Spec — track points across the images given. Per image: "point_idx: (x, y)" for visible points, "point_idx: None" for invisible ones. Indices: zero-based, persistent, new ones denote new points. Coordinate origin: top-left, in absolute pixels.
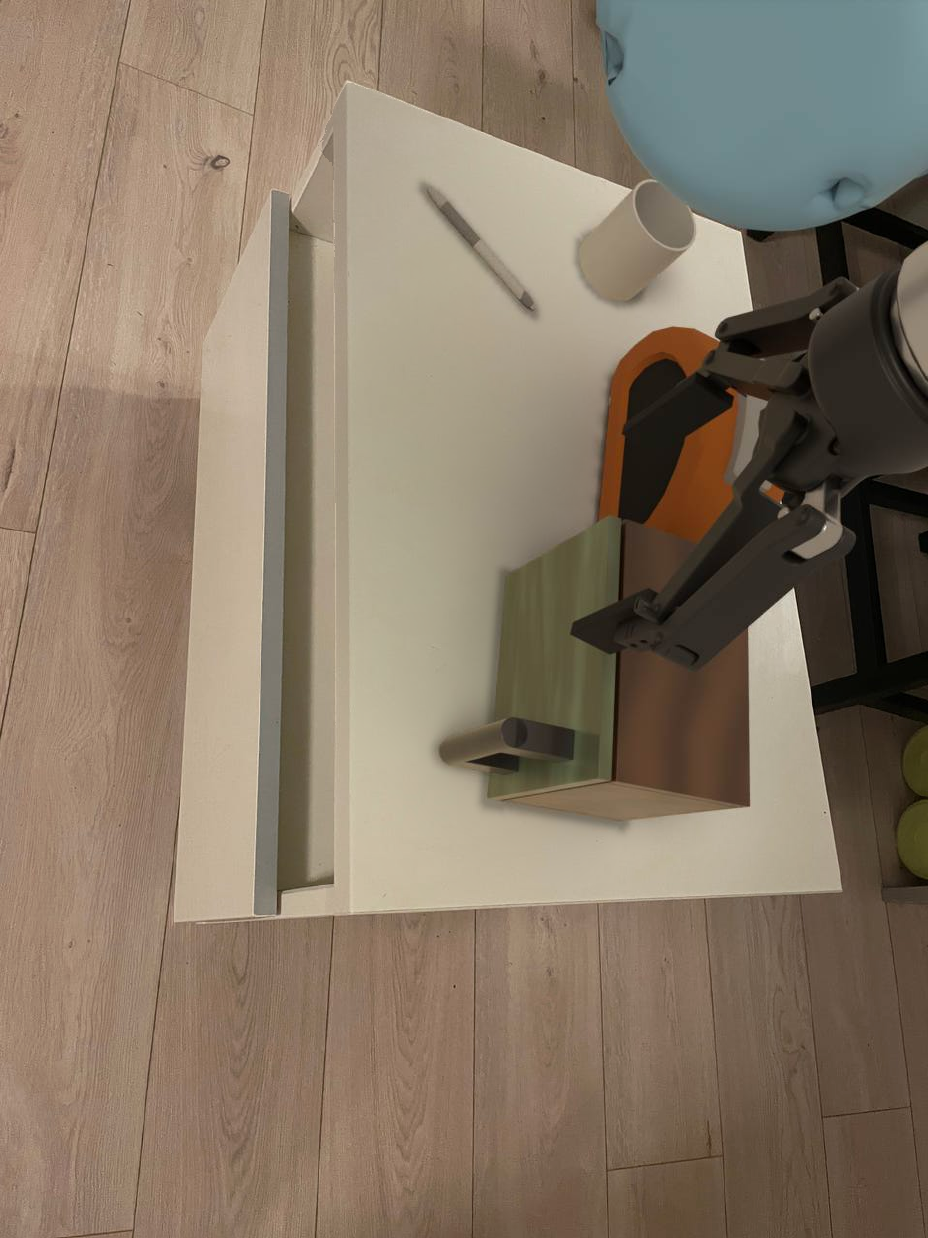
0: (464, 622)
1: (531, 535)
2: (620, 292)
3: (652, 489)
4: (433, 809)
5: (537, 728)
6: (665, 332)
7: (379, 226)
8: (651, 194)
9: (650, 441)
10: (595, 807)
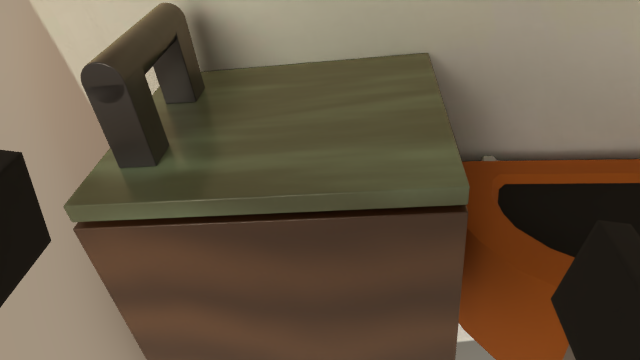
0: (355, 12)
1: (495, 81)
2: None
3: (564, 228)
4: (132, 18)
5: (128, 115)
6: None
7: None
8: None
9: (579, 294)
10: None
